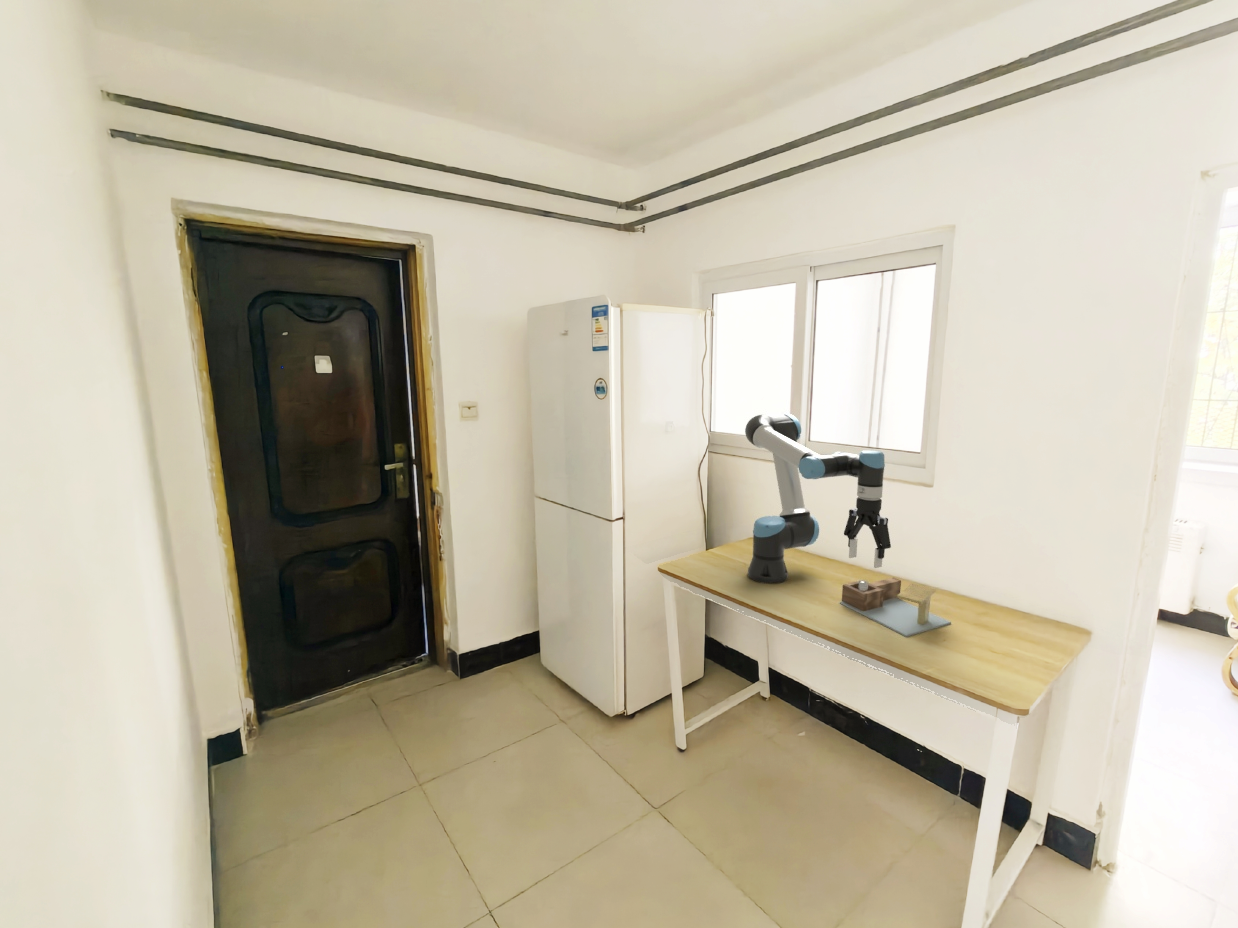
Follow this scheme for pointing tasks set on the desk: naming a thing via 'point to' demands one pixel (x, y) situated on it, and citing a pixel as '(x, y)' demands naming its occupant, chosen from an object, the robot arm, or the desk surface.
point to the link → (871, 593)
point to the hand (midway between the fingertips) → (864, 561)
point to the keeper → (918, 600)
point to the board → (900, 617)
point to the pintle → (863, 586)
